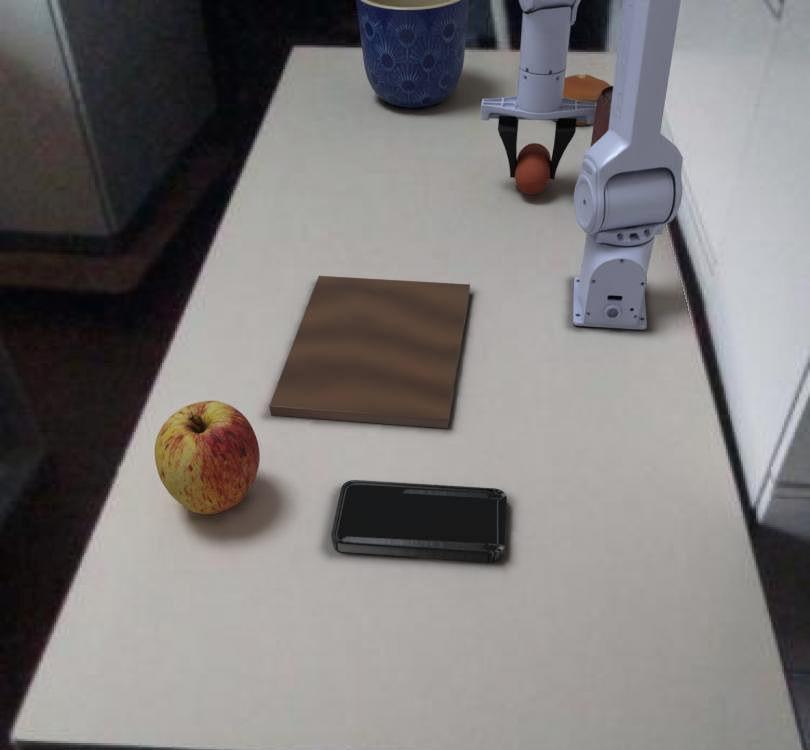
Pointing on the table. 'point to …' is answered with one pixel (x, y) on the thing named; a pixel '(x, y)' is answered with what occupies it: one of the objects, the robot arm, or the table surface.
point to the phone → (420, 520)
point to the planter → (413, 48)
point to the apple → (207, 456)
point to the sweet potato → (533, 168)
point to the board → (375, 352)
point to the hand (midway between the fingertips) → (532, 175)
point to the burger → (583, 89)
